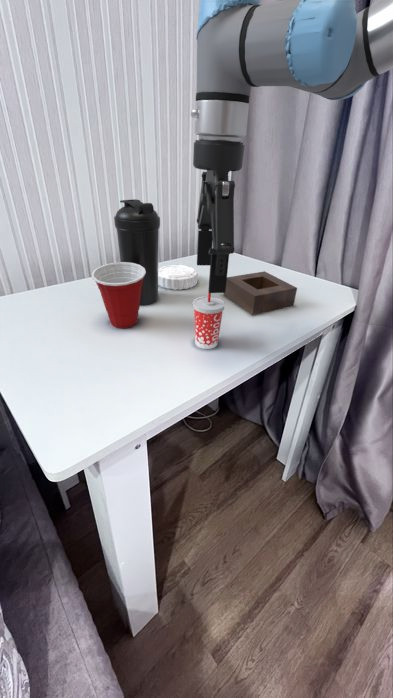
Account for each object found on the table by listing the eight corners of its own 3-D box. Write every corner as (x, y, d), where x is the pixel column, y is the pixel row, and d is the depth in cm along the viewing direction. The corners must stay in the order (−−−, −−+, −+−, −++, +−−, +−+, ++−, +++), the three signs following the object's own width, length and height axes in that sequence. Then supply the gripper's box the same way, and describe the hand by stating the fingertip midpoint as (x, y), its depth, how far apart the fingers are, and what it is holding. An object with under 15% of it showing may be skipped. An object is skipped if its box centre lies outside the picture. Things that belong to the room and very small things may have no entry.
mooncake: (188, 293, 89) (188, 280, 87) (148, 285, 92) (147, 273, 90) (203, 278, 98) (203, 267, 97) (166, 272, 102) (166, 261, 100)
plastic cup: (88, 328, 71) (79, 274, 64) (115, 308, 79) (110, 259, 73) (133, 339, 68) (129, 283, 61) (156, 317, 76) (154, 266, 70)
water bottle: (146, 287, 91) (142, 196, 79) (169, 299, 85) (169, 203, 72) (113, 296, 85) (103, 199, 73) (136, 310, 79) (129, 207, 66)
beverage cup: (200, 354, 64) (204, 285, 56) (186, 339, 68) (187, 274, 61) (227, 346, 67) (234, 280, 59) (211, 333, 71) (215, 269, 64)
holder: (262, 288, 94) (264, 271, 91) (293, 306, 84) (297, 287, 82) (223, 295, 89) (225, 277, 86) (252, 315, 79) (255, 296, 76)
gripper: (184, 136, 58) (181, 256, 70) (208, 139, 38) (199, 307, 49) (226, 139, 60) (216, 256, 71) (271, 142, 39) (248, 306, 50)
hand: (209, 277), depth 60 cm, fingers open, 13 cm apart
